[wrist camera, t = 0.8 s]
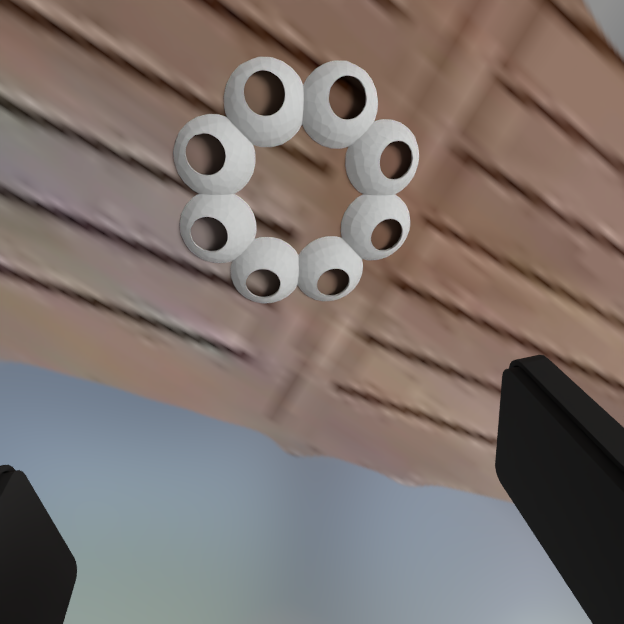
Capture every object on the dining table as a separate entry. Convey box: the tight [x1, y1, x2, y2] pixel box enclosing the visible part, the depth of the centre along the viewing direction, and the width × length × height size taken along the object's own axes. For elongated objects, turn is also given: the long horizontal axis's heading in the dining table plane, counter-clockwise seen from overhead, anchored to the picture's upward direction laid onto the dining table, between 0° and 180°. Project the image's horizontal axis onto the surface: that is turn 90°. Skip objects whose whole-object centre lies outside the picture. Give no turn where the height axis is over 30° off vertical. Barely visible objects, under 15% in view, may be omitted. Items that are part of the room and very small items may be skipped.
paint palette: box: [173, 57, 419, 303], centre depth 36 cm, size 20×20×2 cm
